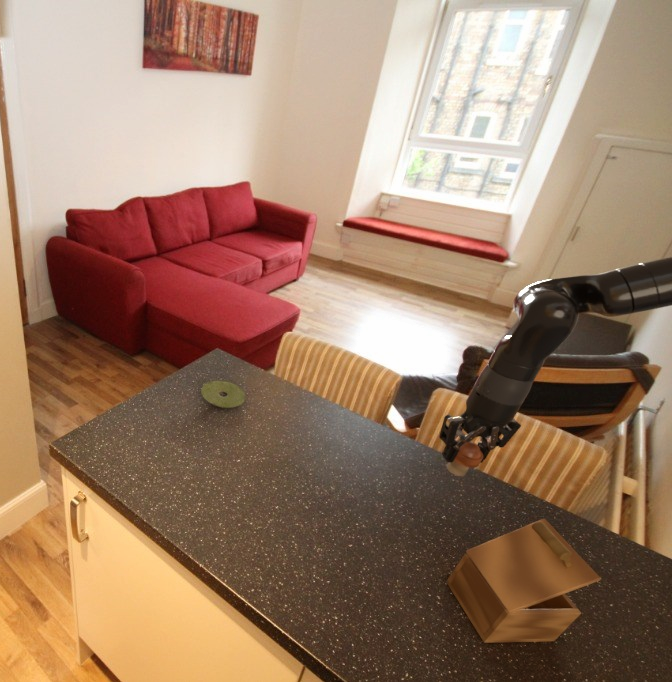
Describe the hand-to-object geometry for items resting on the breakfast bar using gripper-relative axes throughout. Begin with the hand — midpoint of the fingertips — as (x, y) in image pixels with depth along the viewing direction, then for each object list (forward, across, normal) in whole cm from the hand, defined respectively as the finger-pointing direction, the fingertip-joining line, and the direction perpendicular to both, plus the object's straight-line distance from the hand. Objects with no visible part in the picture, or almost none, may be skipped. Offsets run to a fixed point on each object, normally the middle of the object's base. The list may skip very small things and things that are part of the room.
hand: (461, 459), depth 89 cm
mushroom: (+3, 0, 0) cm, 3 cm away
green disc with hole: (+8, +42, -28) cm, 52 cm away
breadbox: (+8, +7, +25) cm, 27 cm away
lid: (-3, +8, +25) cm, 26 cm away
